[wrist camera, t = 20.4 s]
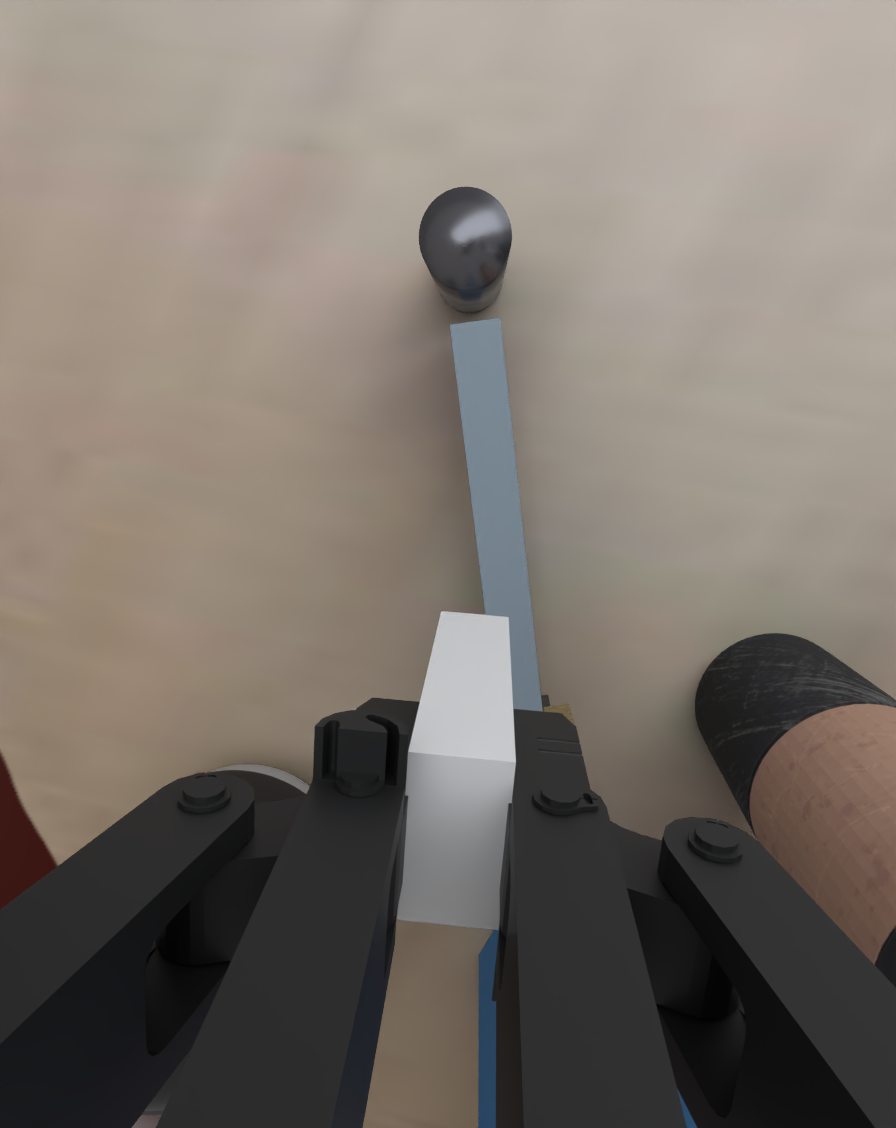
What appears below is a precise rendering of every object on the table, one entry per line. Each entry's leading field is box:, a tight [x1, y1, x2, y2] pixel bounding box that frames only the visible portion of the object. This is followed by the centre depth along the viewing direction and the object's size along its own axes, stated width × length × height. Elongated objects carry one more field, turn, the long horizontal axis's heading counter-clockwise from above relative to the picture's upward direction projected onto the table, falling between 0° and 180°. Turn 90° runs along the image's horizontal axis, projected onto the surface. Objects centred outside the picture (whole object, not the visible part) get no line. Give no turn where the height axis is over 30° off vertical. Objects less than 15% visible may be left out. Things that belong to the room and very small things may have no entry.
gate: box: [450, 318, 543, 711], centre depth 30 cm, size 2×17×9 cm, turn 8°
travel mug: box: [695, 633, 896, 987], centre depth 27 cm, size 8×8×20 cm
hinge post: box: [419, 187, 512, 313], centre depth 28 cm, size 3×3×10 cm
